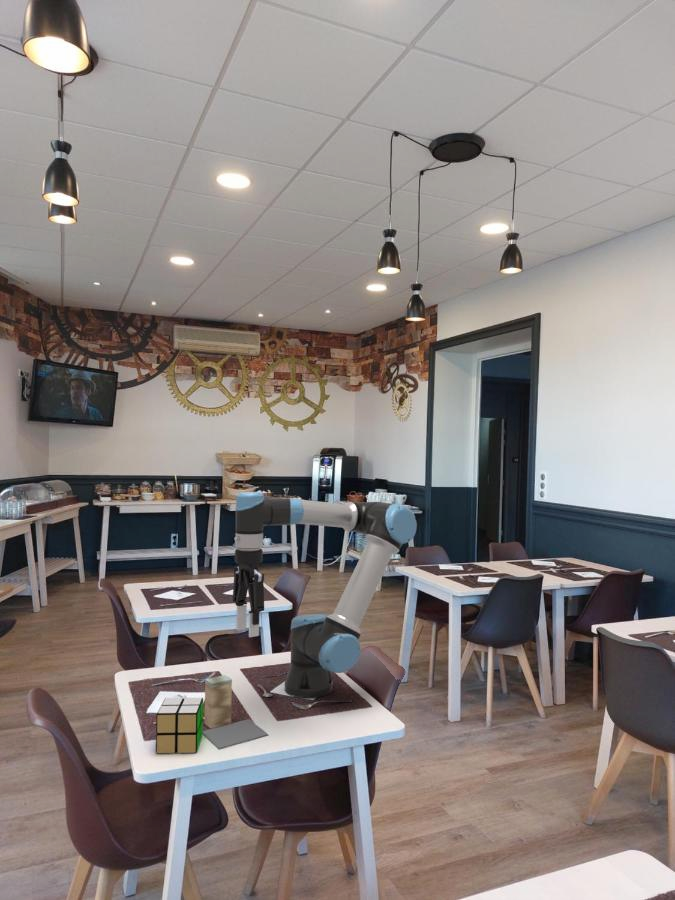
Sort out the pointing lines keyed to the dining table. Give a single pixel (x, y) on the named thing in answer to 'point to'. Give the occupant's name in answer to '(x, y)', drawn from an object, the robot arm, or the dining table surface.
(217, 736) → the felt mat
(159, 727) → the puzzle cube
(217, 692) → the maple block
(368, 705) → the dining table surface
